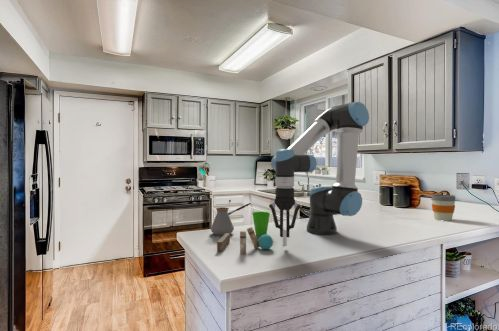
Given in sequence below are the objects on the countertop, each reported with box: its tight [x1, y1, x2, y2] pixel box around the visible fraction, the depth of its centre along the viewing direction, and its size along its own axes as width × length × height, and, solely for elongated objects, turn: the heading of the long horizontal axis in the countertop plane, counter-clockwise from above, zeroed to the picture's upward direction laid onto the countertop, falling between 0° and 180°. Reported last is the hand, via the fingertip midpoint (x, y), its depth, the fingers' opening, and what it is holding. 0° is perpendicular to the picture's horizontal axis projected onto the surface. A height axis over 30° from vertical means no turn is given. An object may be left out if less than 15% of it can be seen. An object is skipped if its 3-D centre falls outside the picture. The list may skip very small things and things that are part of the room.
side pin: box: [239, 230, 247, 255], centre depth 110 cm, size 2×2×8 cm
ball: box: [257, 233, 274, 250], centre depth 116 cm, size 6×6×6 cm
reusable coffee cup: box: [430, 193, 457, 222], centre depth 175 cm, size 13×13×15 cm
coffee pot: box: [210, 202, 253, 236], centre depth 142 cm, size 21×12×15 cm, turn 108°
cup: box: [251, 210, 271, 237], centre depth 137 cm, size 9×9×11 cm
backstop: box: [216, 233, 231, 253], centre depth 119 cm, size 2×14×4 cm, turn 171°
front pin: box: [246, 226, 261, 249], centre depth 117 cm, size 2×2×8 cm
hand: (284, 244), depth 115 cm, fingers closed
